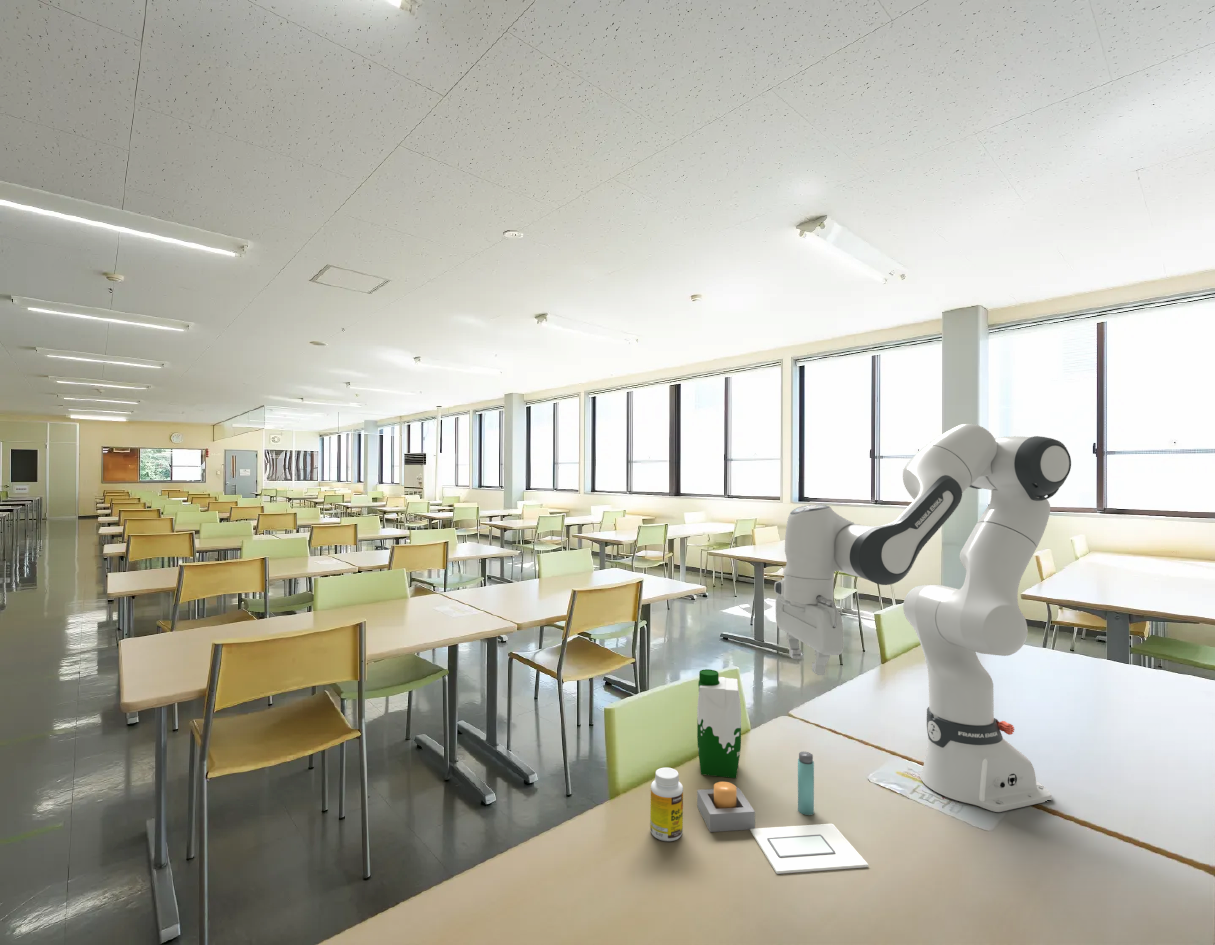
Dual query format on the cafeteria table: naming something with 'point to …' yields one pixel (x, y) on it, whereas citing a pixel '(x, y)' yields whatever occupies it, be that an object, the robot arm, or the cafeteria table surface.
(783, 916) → the cafeteria table surface
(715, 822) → the button housing
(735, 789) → the button
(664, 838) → the supplement bottle
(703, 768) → the milk carton
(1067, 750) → the cafeteria table surface
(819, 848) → the worksheet
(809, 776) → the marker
